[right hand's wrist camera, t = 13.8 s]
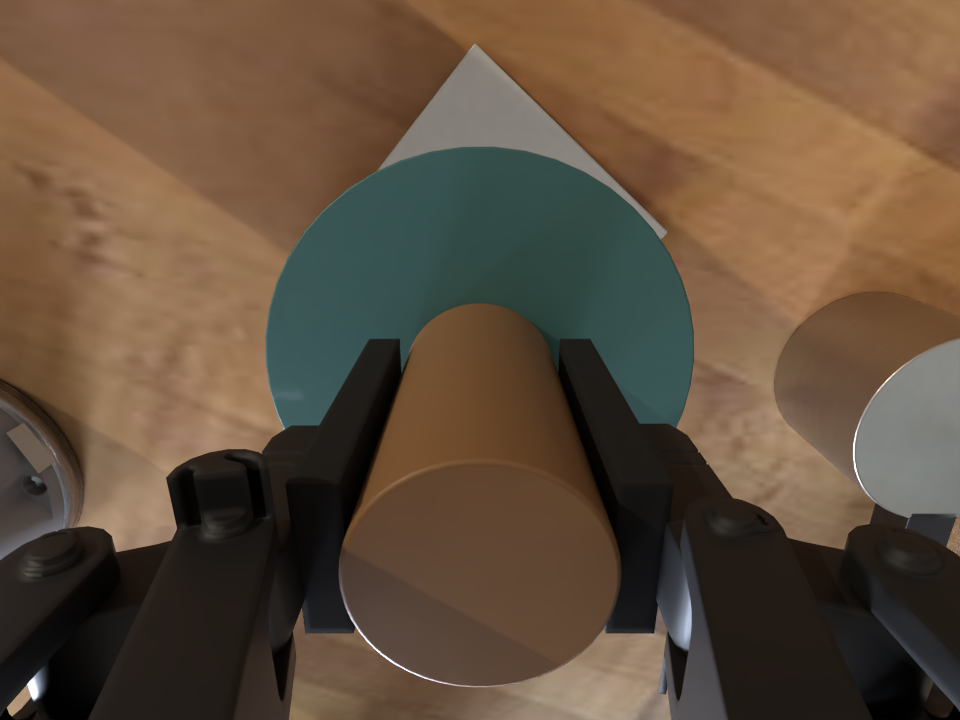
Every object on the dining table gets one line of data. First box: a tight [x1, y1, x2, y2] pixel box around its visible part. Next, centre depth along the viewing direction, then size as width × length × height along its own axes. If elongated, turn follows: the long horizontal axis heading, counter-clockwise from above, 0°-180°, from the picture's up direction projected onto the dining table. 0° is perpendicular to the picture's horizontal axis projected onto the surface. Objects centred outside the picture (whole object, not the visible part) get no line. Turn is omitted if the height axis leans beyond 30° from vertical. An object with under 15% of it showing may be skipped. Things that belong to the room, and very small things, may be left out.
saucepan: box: [774, 292, 960, 547], centre depth 34 cm, size 25×10×8 cm, turn 0°
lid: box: [266, 147, 694, 687], centre depth 12 cm, size 12×12×9 cm
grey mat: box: [377, 44, 667, 240], centre depth 32 cm, size 16×14×1 cm
